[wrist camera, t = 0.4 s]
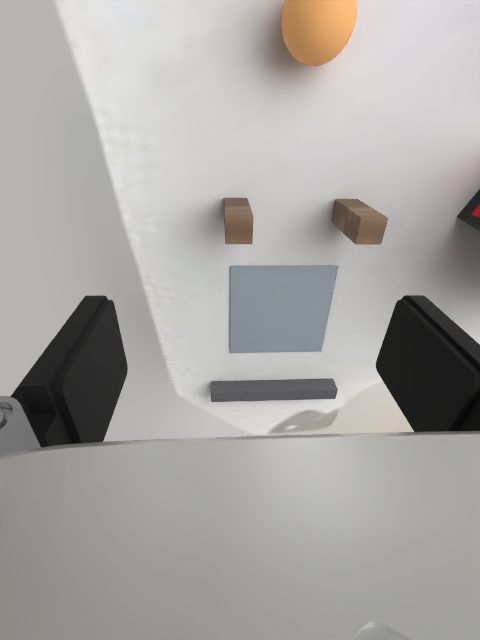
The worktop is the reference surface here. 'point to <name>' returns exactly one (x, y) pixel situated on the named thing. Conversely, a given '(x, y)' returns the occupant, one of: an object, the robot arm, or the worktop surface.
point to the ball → (317, 28)
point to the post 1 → (238, 221)
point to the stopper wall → (273, 390)
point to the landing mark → (279, 307)
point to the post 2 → (359, 221)
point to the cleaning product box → (472, 211)
